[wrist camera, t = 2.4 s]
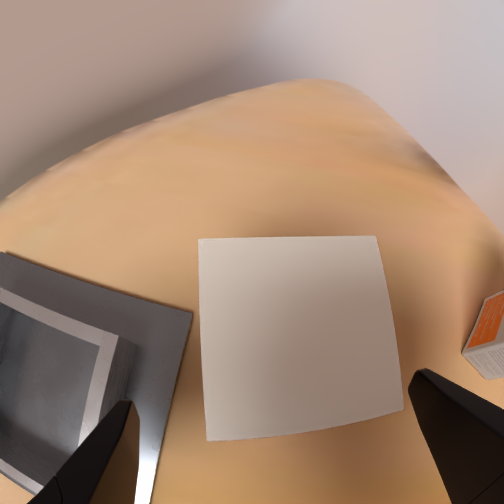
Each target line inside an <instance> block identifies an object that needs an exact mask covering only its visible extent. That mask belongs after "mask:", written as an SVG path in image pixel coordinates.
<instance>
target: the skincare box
mask: <svg viewBox="0 0 504 504" xmlns="http://www.w3.org/2000/svg"><path fill="white" fill-rule="evenodd" d="M462 355H463V356H464V357H465V358H466V359H467V360H468V361H469V362H470V363H471V364H472V365H473V366H474V368H475V369H476V370H477V371H478V372H479V373H480V374H481V375H482V376H483V378H484V379H485V380H491V379H498V378H503V377H504V290H502V291H500V292H498V293H496V294H494V295H492V296H489V297H487V298H485V299H484V302H483V306H482V308H481V311H480V313H479V316H478V318H477V321H476V323H475V326H474V328H473V330H472V332H471V335H470V337H469V339H468V341H467V343H466V345H465V347H464V349H463V351H462Z"/></svg>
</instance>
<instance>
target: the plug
mask: <svg viewBox="0 0 504 504" xmlns="http://www.w3.org/2000/svg"><path fill="white" fill-rule="evenodd" d="M198 253H199V309H200V337H201V359H202V377H203V393H204V408H205V421H206V433H207V441H227V440H243V439H256V438H266V437H275V436H283V435H291V434H298V433H305V432H311V431H317V430H322V429H328V428H333V427H338V426H343V425H347V424H352V423H356V422H361V421H365V420H369V419H373V418H377V417H380V416H384V415H388V414H391V413H395V412H398V411H402V410H404V402H403V390H402V380H401V371H400V363H399V355H398V347H397V340H396V334H395V327H394V321H393V315H392V309H391V304H390V299H389V293H388V288H387V283H386V278H385V274H384V269H383V265H382V260H381V256H380V251H379V247H378V243H377V239H376V236H302V237H251V238H210V239H198Z"/></svg>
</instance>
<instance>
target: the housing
mask: <svg viewBox="0 0 504 504" xmlns="http://www.w3.org/2000/svg"><path fill="white" fill-rule="evenodd" d="M192 318H193V314H192V313H189V312H185V311H181V310H178V309H174V308H170V307H166V306H163V305H159V304H156V303H152V302H148V301H145V300H141V299H138V298H135V297H131V296H128V295H124V294H121V293H118V292H115V291H111V290H108V289H105V288H102V287H99V286H96V285H92V284H89V283H86V282H83V281H80V280H77V279H74V278H71V277H68V276H65V275H63V274H60V273H57V272H54V271H51V270H48V269H46V268H43V267H40V266H37V265H35V264H32V263H29V262H27V261H24V260H21V259H19V258H16V257H14V256H11V255H8V254H6V253H3V252H0V473H1V474H3V475H4V476H6V477H7V478H8V479H10V480H11V481H13V482H14V483H16V484H17V485H19V486H20V487H22V488H23V489H25V490H27V491H28V492H30V493H31V494H33V495H35V496H36V495H37V494H38V493H39V492H40V490H41V489H42V488H43V487H44V486H45V485H46V484H47V483H48V482H49V480H50V479H51V478H52V477H53V476H55V474H56V472H57V471H58V470H59V469H60V468H61V467H62V465H63V464H64V463H65V462H66V461H67V460H68V458H69V457H70V456H71V455H72V454H73V453H74V451H75V450H76V449H77V448H78V447H79V446H80V444H81V443H82V442H83V441H84V440H85V439H86V437H87V436H88V435H89V434H90V433H91V432H92V430H93V429H94V428H95V427H96V426H97V425H98V423H99V422H100V421H101V420H102V419H103V418H104V416H105V415H106V414H107V413H108V412H109V411H110V409H111V408H112V407H113V406H114V405H115V404H116V403H117V401H118V400H120V399H128V400H133V402H134V403H135V406H136V409H137V412H138V414H139V417H140V447H139V472H138V480H137V488H136V497H135V504H150V502H151V497H152V491H153V486H154V481H155V476H156V471H157V466H158V462H159V457H160V452H161V447H162V443H163V438H164V433H165V429H166V424H167V420H168V416H169V411H170V407H171V402H172V398H173V394H174V390H175V385H176V381H177V377H178V373H179V369H180V365H181V361H182V357H183V353H184V349H185V345H186V341H187V337H188V333H189V329H190V325H191V322H192Z"/></svg>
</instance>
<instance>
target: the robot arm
mask: <svg viewBox="0 0 504 504" xmlns="http://www.w3.org/2000/svg"><path fill="white" fill-rule="evenodd" d="M408 393H409V396H410V399H411V402H412V405H413V408H414V411H415V414H416V417H417V420H418V423H419V426H420V428H421V431H422V433H423V435H424V438H425V440H426V442H427V445H428V447H429V449H430V451H431V454H432V456H433V458H434V461H435V463H436V466H437V468H438V470H439V473H440V475H441V478H442V480H443V483H444V485H445V488H446V490H447V493H448V495H449V498H450V501H451V503H452V504H504V409H503V410H502V408H500V407H498V406H496V405H494V404H493V403H491V402H489V401H487V400H485V399H483V398H481V397H479V396H477V395H476V394H474V393H472V392H470V391H468V390H466V389H464V388H463V387H461V386H459V385H457V384H455V383H453V382H451V381H450V380H448V379H446V378H444V377H442V376H440V375H439V374H437V373H435V372H433V371H431V370H429V369H427V368H424V369H420V370H417V371H416V372H415V373H414V375H413V378H412V380H411V382H410V384H409V387H408ZM139 447H140V417H139V414H138V412H137V409H136V406H135V403H134V402H133V400H128V399H120V400H118V401H117V403H116V404H115V405H114V406H113V407H112V408H111V409H110V411H109V412H108V413H107V414H106V415H105V416H104V418H103V419H102V420H101V421H100V422H99V423H98V425H97V426H96V427H95V428H94V429H93V430H92V432H91V433H90V434H89V435H88V436H87V437H86V439H85V440H84V441H83V442H82V443H81V444H80V446H79V447H78V448H77V449H76V450H75V451H74V453H73V454H72V455H71V456H70V457H69V458H68V460H67V461H66V462H65V463H64V464H63V465H62V467H61V468H60V469H59V470H58V471H57V472H56V474H55V476H53V477H52V478H51V479H50V480H49V482H48V483H47V484H46V485H45V486H44V487H43V488H42V489H41V490H40V492H39V493H38V494H37V495H36V496H35V497H33V498H32V499H31V500H30V501H29V502H28V503H27V504H135V497H136V488H137V480H138V472H139Z"/></svg>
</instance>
